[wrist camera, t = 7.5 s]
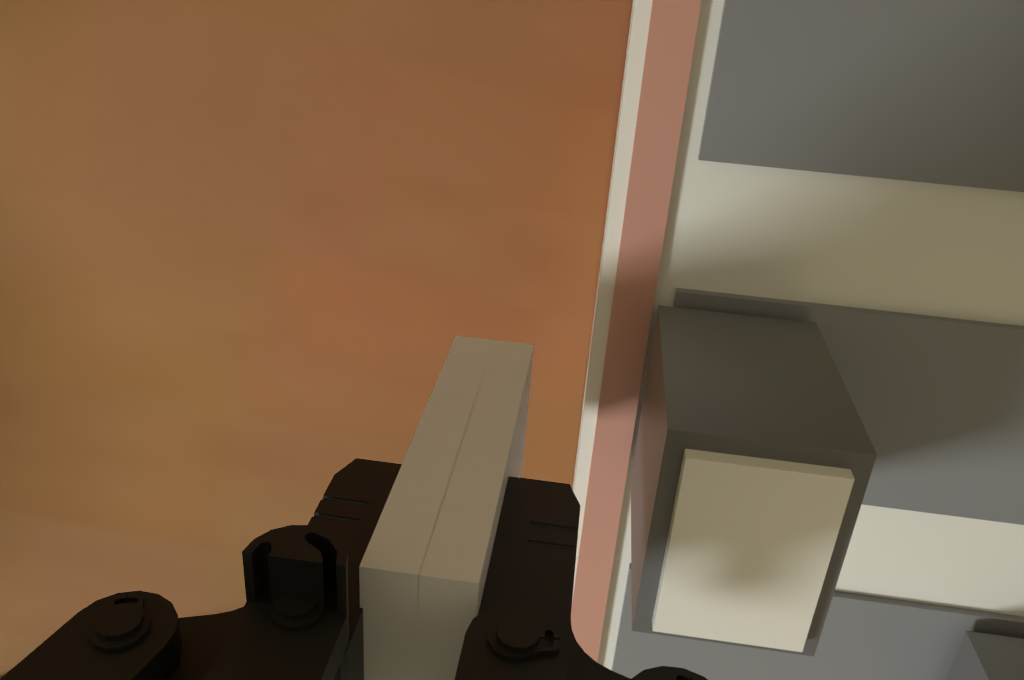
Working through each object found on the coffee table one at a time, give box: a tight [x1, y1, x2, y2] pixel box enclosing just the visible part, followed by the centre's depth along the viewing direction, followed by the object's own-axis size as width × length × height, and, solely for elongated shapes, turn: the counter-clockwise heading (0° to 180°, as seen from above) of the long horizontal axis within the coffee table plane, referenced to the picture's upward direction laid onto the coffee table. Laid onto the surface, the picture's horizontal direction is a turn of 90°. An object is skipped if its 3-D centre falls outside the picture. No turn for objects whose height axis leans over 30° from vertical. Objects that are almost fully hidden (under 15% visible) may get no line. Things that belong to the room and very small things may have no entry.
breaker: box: [631, 305, 877, 657], centre depth 15 cm, size 3×4×5 cm
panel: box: [571, 0, 1024, 680], centre depth 17 cm, size 14×30×2 cm, turn 176°
